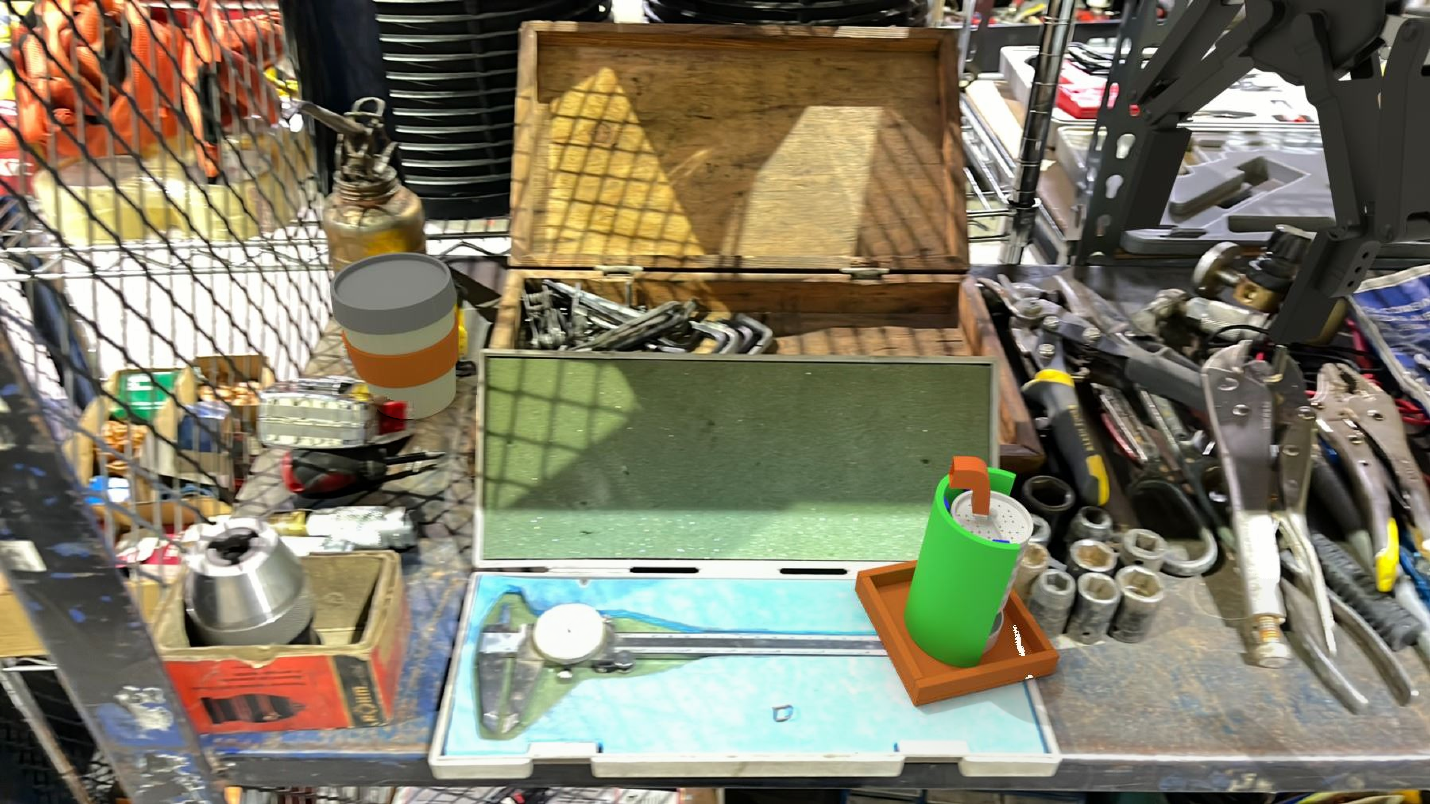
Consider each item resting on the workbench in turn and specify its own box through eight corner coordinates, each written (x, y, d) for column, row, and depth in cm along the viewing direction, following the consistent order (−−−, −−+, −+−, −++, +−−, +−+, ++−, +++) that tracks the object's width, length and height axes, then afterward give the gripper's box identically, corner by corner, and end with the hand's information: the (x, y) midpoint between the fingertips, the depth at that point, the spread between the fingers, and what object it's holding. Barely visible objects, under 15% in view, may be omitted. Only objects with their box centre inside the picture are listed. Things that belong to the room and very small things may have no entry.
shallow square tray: (1052, 674, 76) (1060, 656, 74) (914, 706, 73) (919, 688, 71) (978, 564, 85) (984, 546, 84) (854, 589, 82) (857, 570, 81)
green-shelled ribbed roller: (1011, 668, 75) (1070, 510, 64) (915, 668, 75) (957, 510, 64) (983, 583, 83) (1031, 429, 72) (895, 583, 82) (930, 428, 71)
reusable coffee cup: (376, 362, 108) (349, 249, 99) (482, 365, 108) (465, 252, 99) (341, 429, 98) (308, 309, 89) (458, 431, 98) (437, 313, 89)
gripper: (1735, -81, 33) (1437, 389, 46) (1247, -161, 52) (1133, 187, 65) (1582, -77, 31) (1317, 409, 44) (1135, -162, 50) (1040, 196, 63)
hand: (1207, 278), depth 55 cm, fingers open, 13 cm apart
